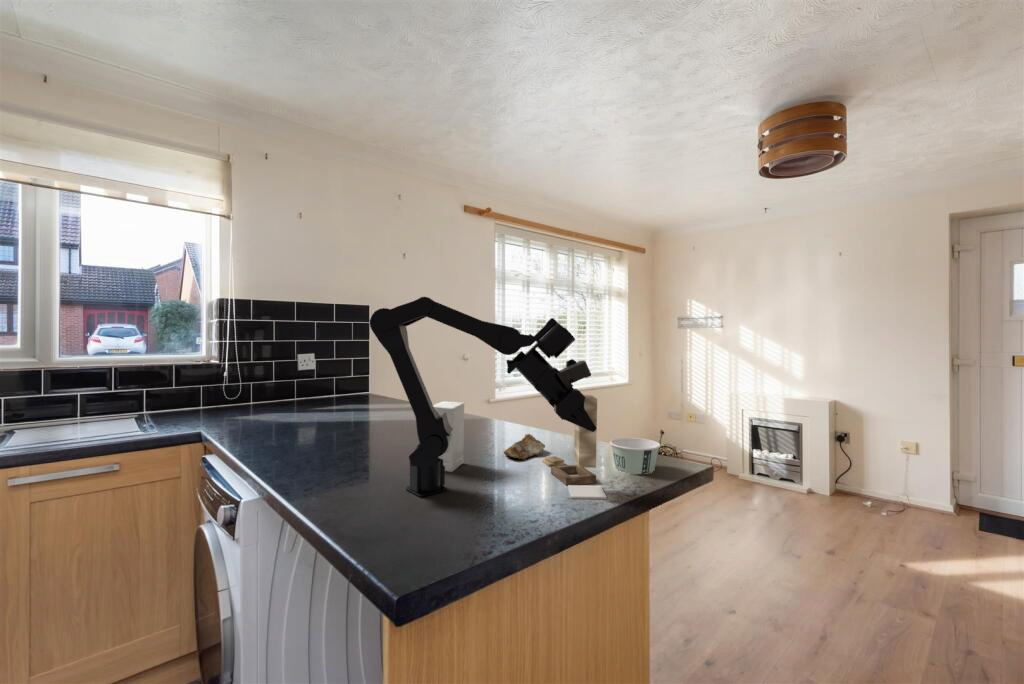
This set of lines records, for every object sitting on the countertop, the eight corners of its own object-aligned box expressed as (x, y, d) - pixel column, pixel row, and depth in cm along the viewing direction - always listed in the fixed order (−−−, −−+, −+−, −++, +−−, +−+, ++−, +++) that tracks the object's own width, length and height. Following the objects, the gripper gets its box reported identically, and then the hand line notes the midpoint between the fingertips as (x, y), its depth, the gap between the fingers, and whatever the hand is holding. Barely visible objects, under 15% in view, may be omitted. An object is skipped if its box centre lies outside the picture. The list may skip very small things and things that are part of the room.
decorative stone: (550, 434, 131) (528, 452, 118) (550, 448, 132) (529, 468, 118) (519, 430, 135) (495, 447, 122) (520, 444, 136) (496, 463, 123)
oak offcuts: (549, 466, 116) (549, 461, 116) (542, 461, 120) (542, 456, 120) (565, 465, 117) (565, 460, 117) (557, 460, 121) (557, 455, 121)
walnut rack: (566, 485, 101) (566, 478, 101) (551, 473, 110) (551, 466, 110) (596, 482, 103) (596, 475, 103) (579, 471, 112) (579, 464, 112)
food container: (671, 472, 112) (671, 445, 112) (633, 479, 106) (634, 451, 106) (635, 460, 122) (635, 435, 122) (599, 466, 116) (599, 440, 116)
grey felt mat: (571, 498, 93) (571, 496, 93) (567, 487, 100) (567, 485, 100) (606, 498, 93) (606, 496, 93) (600, 487, 100) (600, 485, 100)
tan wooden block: (578, 467, 95) (580, 398, 95) (574, 459, 101) (575, 394, 101) (595, 467, 95) (597, 398, 95) (590, 459, 101) (591, 394, 101)
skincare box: (441, 461, 120) (441, 400, 119) (465, 463, 118) (466, 402, 118) (427, 470, 112) (427, 405, 111) (453, 472, 110) (453, 406, 110)
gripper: (575, 348, 88) (631, 407, 89) (562, 346, 107) (609, 394, 107) (532, 389, 88) (589, 448, 88) (527, 379, 107) (574, 428, 107)
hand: (591, 427), depth 98 cm, fingers closed on tan wooden block, 6 cm apart
